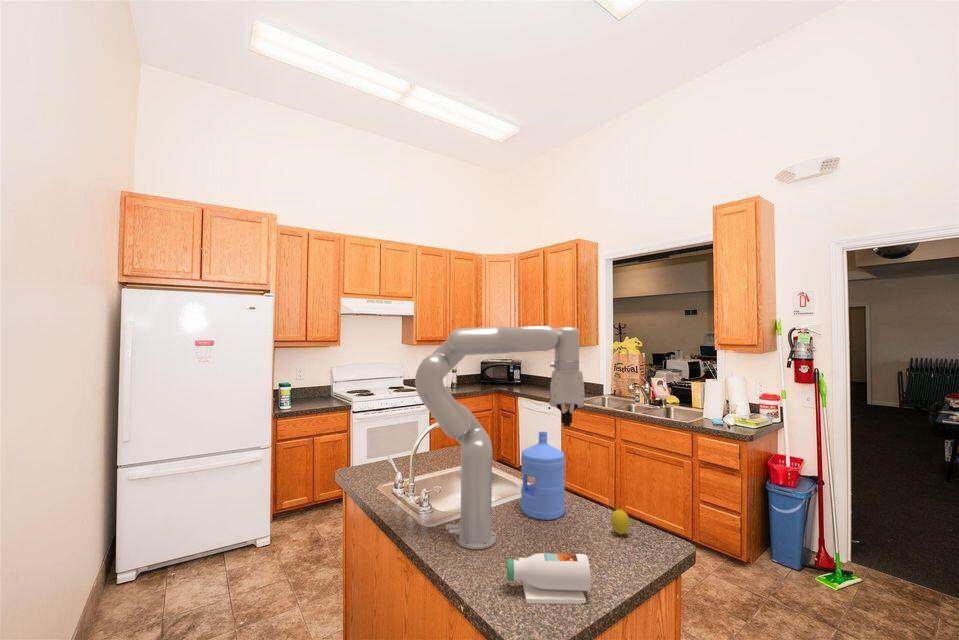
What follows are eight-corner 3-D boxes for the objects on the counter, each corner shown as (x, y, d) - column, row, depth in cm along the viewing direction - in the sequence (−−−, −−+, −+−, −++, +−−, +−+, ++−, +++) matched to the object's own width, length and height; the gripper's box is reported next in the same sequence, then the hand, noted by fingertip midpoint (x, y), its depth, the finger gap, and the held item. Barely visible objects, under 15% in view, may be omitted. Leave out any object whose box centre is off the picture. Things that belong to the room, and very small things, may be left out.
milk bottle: (592, 571, 95) (507, 568, 96) (591, 599, 97) (507, 596, 98) (585, 547, 103) (506, 544, 104) (584, 573, 104) (506, 571, 105)
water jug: (563, 504, 153) (563, 428, 154) (566, 522, 137) (566, 438, 139) (521, 501, 155) (522, 427, 156) (519, 519, 140) (520, 436, 141)
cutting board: (526, 603, 95) (526, 599, 95) (518, 561, 113) (518, 557, 113) (585, 604, 95) (585, 599, 95) (568, 561, 113) (568, 558, 113)
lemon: (621, 529, 133) (621, 504, 133) (633, 537, 128) (633, 511, 128) (607, 532, 131) (607, 506, 131) (619, 540, 126) (619, 513, 126)
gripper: (545, 367, 124) (544, 427, 123) (594, 367, 124) (594, 428, 123) (541, 365, 131) (540, 422, 131) (587, 365, 131) (587, 423, 131)
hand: (566, 425), depth 127 cm, fingers closed
